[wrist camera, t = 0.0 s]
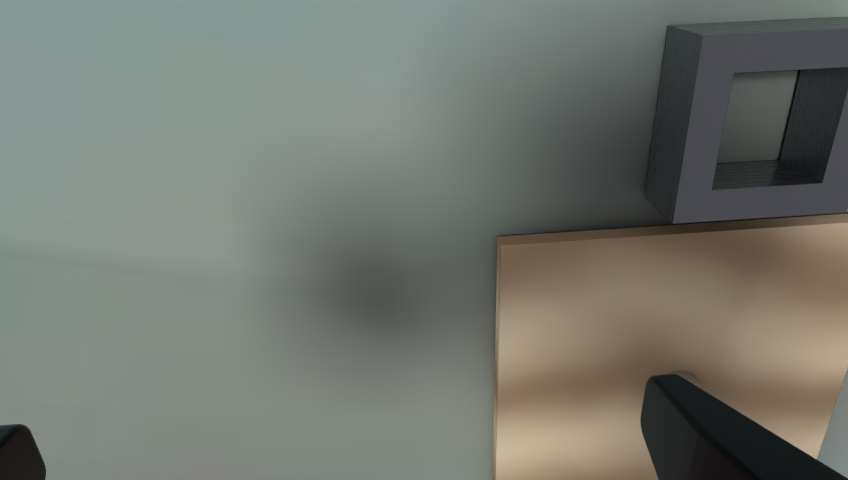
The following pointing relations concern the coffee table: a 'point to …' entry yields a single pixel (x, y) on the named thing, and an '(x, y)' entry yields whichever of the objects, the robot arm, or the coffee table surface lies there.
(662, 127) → the collar
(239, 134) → the coffee table surface
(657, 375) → the robot arm
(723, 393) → the wooden peg base
